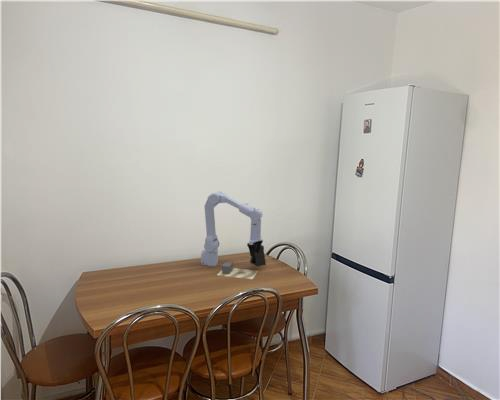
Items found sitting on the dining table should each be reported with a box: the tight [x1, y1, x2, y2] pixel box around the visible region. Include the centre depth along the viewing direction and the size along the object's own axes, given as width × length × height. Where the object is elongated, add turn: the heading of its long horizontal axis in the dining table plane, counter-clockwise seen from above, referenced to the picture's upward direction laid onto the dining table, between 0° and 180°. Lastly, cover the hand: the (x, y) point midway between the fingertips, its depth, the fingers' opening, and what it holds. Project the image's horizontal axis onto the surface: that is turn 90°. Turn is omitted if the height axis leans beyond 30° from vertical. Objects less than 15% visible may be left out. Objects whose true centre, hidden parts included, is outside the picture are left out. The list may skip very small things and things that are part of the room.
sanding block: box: [221, 261, 234, 274], centre depth 203 cm, size 4×8×4 cm, turn 167°
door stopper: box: [249, 244, 267, 267], centre depth 219 cm, size 9×6×12 cm, turn 33°
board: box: [216, 267, 259, 280], centre depth 202 cm, size 20×14×1 cm
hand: (254, 254), depth 208 cm, fingers open, 7 cm apart
